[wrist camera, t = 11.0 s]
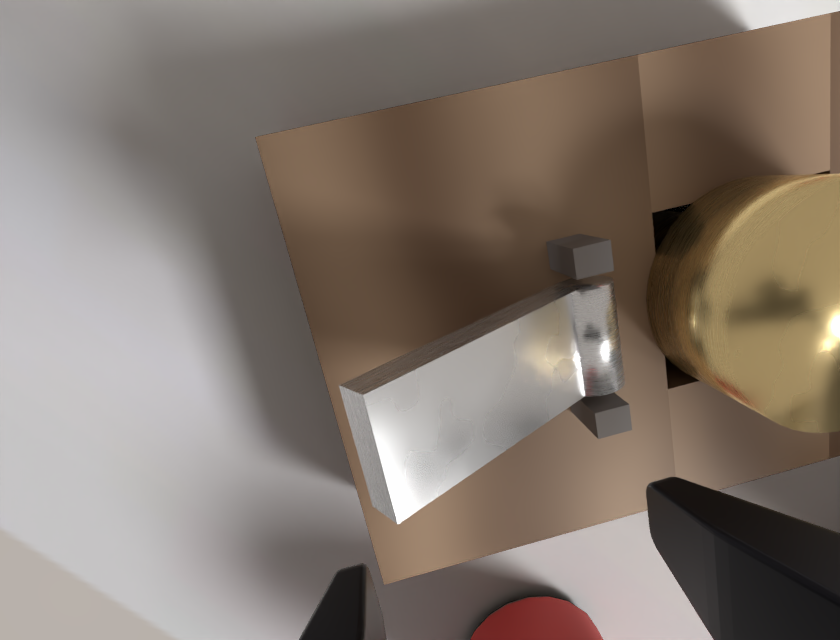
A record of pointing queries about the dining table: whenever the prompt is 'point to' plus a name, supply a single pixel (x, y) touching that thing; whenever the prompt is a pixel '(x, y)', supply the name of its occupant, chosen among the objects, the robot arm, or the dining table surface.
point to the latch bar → (481, 391)
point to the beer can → (537, 621)
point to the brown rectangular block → (550, 262)
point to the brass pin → (755, 295)
